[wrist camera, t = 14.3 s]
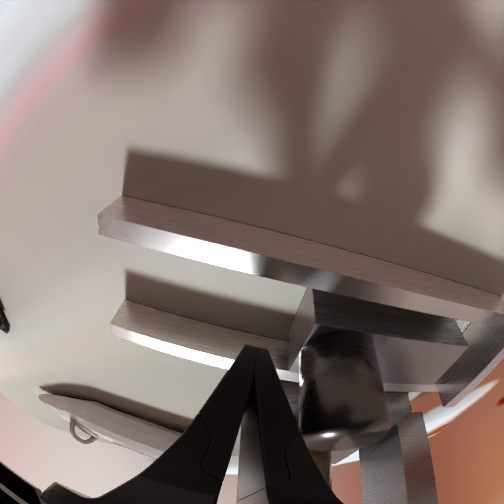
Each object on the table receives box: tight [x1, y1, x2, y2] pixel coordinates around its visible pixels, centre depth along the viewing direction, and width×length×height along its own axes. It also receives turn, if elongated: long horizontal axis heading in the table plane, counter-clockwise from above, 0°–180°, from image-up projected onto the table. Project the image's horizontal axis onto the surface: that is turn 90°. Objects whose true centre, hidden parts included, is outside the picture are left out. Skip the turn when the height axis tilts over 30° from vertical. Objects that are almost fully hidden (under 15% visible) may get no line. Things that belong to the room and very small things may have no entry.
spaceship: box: [39, 394, 182, 459], centre depth 21 cm, size 23×7×4 cm, turn 94°
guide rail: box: [98, 196, 504, 407], centre depth 11 cm, size 20×6×3 cm, turn 77°
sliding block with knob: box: [289, 287, 468, 451], centre depth 10 cm, size 8×3×6 cm, turn 77°
